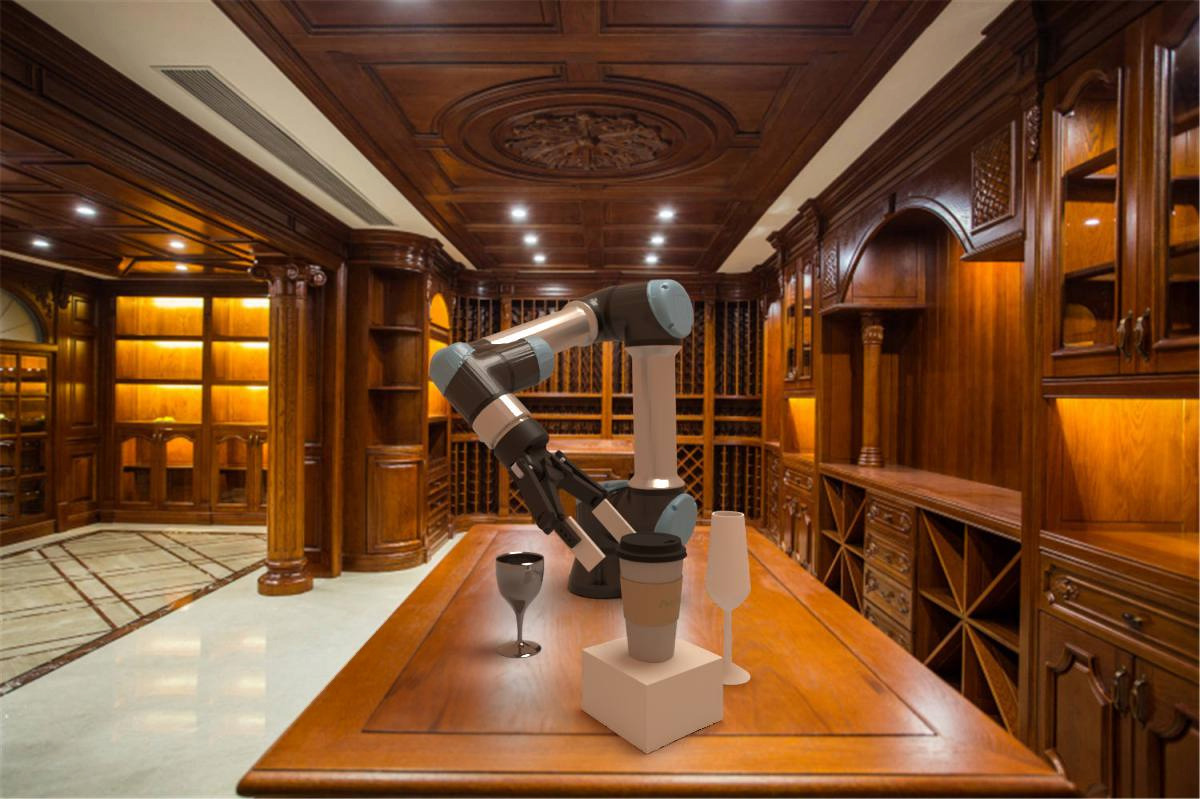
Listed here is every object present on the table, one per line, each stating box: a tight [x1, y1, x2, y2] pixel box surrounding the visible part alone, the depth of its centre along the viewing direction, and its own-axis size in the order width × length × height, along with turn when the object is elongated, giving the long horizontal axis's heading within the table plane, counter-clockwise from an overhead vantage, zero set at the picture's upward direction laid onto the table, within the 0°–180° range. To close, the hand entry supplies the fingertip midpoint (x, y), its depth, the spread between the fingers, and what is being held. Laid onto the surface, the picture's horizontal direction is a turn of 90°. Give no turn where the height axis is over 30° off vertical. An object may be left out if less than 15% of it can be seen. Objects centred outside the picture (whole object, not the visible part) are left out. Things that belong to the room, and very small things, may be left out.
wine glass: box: [494, 551, 545, 659], centre depth 103 cm, size 8×8×15 cm
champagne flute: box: [704, 510, 752, 686], centre depth 94 cm, size 7×7×24 cm
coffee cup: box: [615, 532, 688, 663], centre depth 82 cm, size 9×9×15 cm
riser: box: [581, 635, 724, 755], centre depth 82 cm, size 13×13×8 cm
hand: (614, 551), depth 83 cm, fingers open, 13 cm apart
